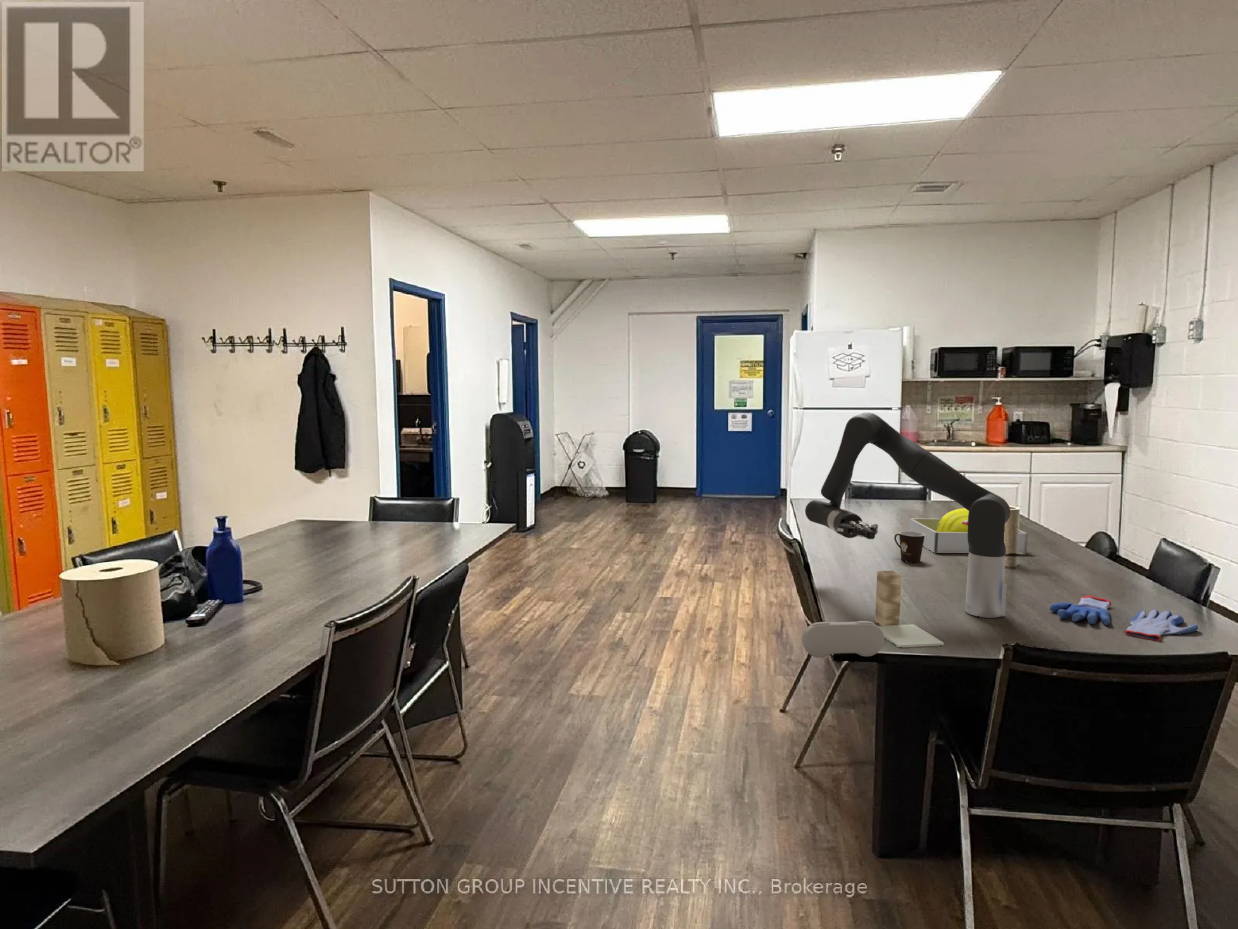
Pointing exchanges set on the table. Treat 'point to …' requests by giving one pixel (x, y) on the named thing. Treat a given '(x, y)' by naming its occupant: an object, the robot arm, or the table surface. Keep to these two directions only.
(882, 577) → the beech block
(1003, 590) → the robot arm
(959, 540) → the grey crate
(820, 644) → the game controller
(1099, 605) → the pair of gloves
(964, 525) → the hard hat
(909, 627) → the felt mat
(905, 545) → the coffee mug
